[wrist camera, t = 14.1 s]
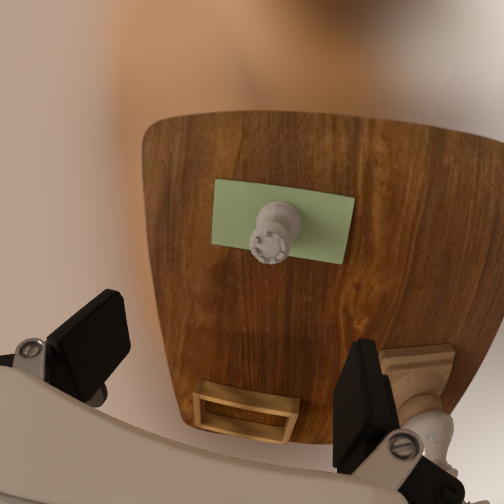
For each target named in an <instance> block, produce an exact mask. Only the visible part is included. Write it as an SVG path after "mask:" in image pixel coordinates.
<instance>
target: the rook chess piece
mask: <svg viewBox="0 0 504 504" xmlns="http://www.w3.org/2000/svg"><path fill="white" fill-rule="evenodd" d="M301 223H302V222H301V218H300V215H299V213H298V212H297V210H296V209H295V208H294V207H293V206H291V205H290V204H288V203H286V202H280V201H275V202H272V203H268V204H267V205H266V206H264V207H263V208H262V209H261V210H260V212H259V214H258V216H257V219H256V229H255V230H254V231H253V233H252V235H251V237H250V244H249V246H250V249H251V252H252V254H253V255H254V256H255V257H256V258H257V259H258V261H260V262H262V263H267V264H275V263H280V262H281V261H283V260H284V259H286V258H287V256H288V254H289V253H290V251H291V244H292V242H293V241H295V240H296V238H297V236H298V235H299V233H300V230H301Z"/></svg>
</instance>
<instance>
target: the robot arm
mask: <svg viewBox="0 0 504 504" xmlns="http://www.w3.org/2000/svg"><path fill="white" fill-rule="evenodd" d="M47 341H48V343H47V344H46V345H45V343H44V341H42V340H41V339H38V338H30V339H26V340H24V341H22V342H21V343H20V344H19V345H18V346H17V348H16V351H15V354H9V355H1V356H0V504H471V503H470V502H468V503H466V502H465V501H464V497H465V489H464V486H463V484H462V483H461V482H460V481H459V480H458V479H457V478H455V477H454V476H452V475H451V474H449V473H448V472H446V471H445V470H443V469H442V468H441V467H439V466H438V465H436V464H435V463H433V462H432V461H430V460H429V459H428V458H426V457H425V456H423V455H422V454H423V452H424V444H423V441H422V439H421V438H420V436H419V435H418V434H416V433H415V432H413V431H411V430H409V429H400V424H399V419H398V415H397V410H396V405H395V400H394V396H393V392H392V387H391V383H390V379H389V377H388V375H383V374H382V370H381V366H380V362H379V358H378V354H377V350H376V346H375V342H374V340H370V339H361V338H360V339H358V341H357V342H353V343H352V345H351V348H350V351H349V354H348V356H347V359H346V362H345V364H344V367H343V370H342V372H341V375H340V377H339V380H338V382H337V385H336V387H335V390H334V394H333V467H334V468H337V473H332V472H323V471H316V470H315V471H314V470H305V469H298V468H290V467H283V466H277V465H271V464H265V463H259V462H254V461H249V460H244V459H239V458H235V457H229V456H225V455H222V454H217V453H214V452H210V451H206V450H202V449H199V448H195V447H192V446H188V445H185V444H182V443H179V442H176V441H173V440H170V439H167V438H164V437H161V436H159V435H156V434H153V433H150V432H148V431H145V430H143V429H140V428H137V427H134V426H133V425H130V424H128V423H125V422H123V421H120V420H118V419H116V418H114V417H111V416H109V415H107V414H105V413H103V412H101V411H99V410H97V409H95V408H93V407H91V406H89V405H87V404H85V402H86V401H87V402H88V401H90V400H91V398H92V397H93V396H94V395H95V394H96V392H97V391H98V390H99V389H100V387H101V386H102V385H103V384H104V382H105V381H106V380H107V379H108V377H109V376H110V375H111V374H112V373H113V371H114V370H115V369H116V367H117V366H118V365H119V364H120V363H121V362H122V360H123V359H124V358H125V357H126V355H127V354H128V353H129V351H130V348H131V344H130V339H129V332H128V326H127V320H126V313H125V306H124V299H123V297H122V296H121V294H120V292H118V291H115V290H111V289H106V290H104V291H103V292H102V293H100V294H99V295H98V296H97V297H95V298H94V299H93V300H92V301H90V302H89V303H88V304H86V305H85V306H84V307H83V308H81V309H80V310H79V311H78V312H77V313H75V314H74V315H73V316H72V317H71V318H69V319H68V320H67V321H66V322H64V323H63V324H62V325H61V326H60V327H58V328H57V329H56V330H55V331H54V332H52V333H51V334H50V335H49V336H48V337H47Z"/></svg>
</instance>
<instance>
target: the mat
mask: <svg viewBox="0 0 504 504" xmlns="http://www.w3.org/2000/svg"><path fill="white" fill-rule="evenodd" d="M275 201H280V202H286V203H288V204H290V205H291V206H293V207H294V208H295V209H296V210H297V212H298V213H299V215H300V218H301V222H302V223H301V230H300V233H299V235H298V236H297V238H296V240H295V241H293V242H292V244H291V251H290V253H289V254H288V256H292V257H299V258H305V259H311V260H318V261H324V262H330V263H337V264H342V263H343V259H344V254H345V249H346V244H347V239H348V234H349V229H350V224H351V219H352V213H353V208H354V202H355V198H354V197H348V196H343V195H337V194H331V193H325V192H319V191H312V190H306V189H299V188H292V187H285V186H278V185H270V184H262V183H254V182H245V181H236V180H226V179H215V193H214V208H213V225H212V244H216V245H222V246H229V247H235V248H241V249H248V250H251V249H250V246H249V244H250V237H251V235H252V233H253V231H254V230H255V229H256V219H257V216H258V214H259V212H260V210H261V209H262V208H263V207H264V206H266V205H267V204H268V203H272V202H275Z"/></svg>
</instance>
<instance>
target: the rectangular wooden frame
mask: <svg viewBox="0 0 504 504" xmlns="http://www.w3.org/2000/svg"><path fill="white" fill-rule="evenodd" d="M206 400H208V401H211V402H215V403H220V404H224V405H228V406H233V407H237V408H242V409H247V410H252V411H257V412H262V413H268V414H274V415H280V416H287V420H286V423H285V426H284V427H278V426H272V425H266V424H260V423H255V422H250V421H245V420H240V419H235V418H231V417H226V416H222V415H218V414H214V413H210V412H206ZM193 402H194V416H195V426H197V427H201V428H205V429H209V430H212V431H216V432H220V433H225V434H229V435H233V436H238V437H243V438H248V439H253V440H259V441H264V442H270V443H276V444H283V445H287V444H288V441H289V439H290V436H291V433H292V431H293V428H294V425H295V423H296V420H297V417H298V415H299V406H300V399H297V398H290V397H283V396H277V395H271V394H265V393H260V392H255V391H250V390H245V389H240V388H235V387H231V386H226V385H222V384H217V383H213V382H209V381H205V380H202V379H199V381H198V383H197V385H196V387H195V389H194V391H193Z"/></svg>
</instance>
